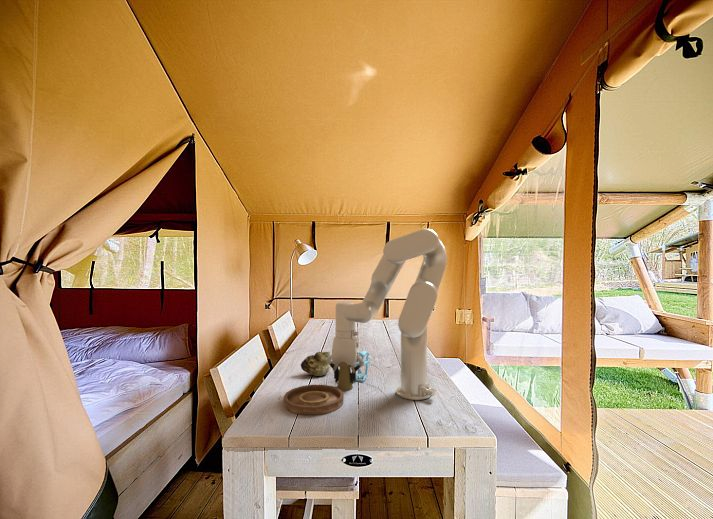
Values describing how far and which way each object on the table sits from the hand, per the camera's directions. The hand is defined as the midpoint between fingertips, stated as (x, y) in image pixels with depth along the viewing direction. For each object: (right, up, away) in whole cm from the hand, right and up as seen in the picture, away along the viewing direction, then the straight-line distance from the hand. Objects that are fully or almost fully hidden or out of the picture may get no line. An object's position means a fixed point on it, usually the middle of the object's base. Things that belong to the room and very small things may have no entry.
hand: (345, 381), depth 128 cm
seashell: (-12, -3, +16) cm, 20 cm away
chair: (+6, -3, +11) cm, 13 cm away
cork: (0, -3, 0) cm, 3 cm away
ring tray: (-10, -2, -14) cm, 17 cm away
